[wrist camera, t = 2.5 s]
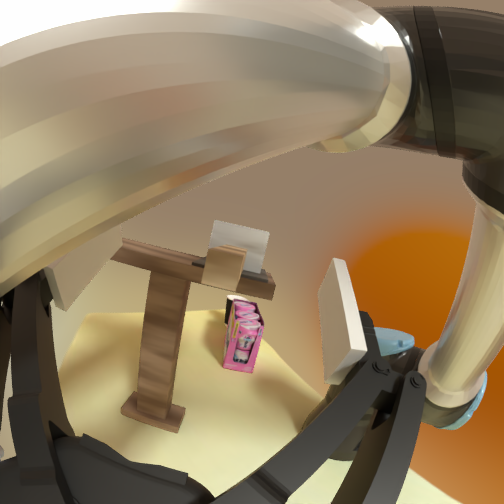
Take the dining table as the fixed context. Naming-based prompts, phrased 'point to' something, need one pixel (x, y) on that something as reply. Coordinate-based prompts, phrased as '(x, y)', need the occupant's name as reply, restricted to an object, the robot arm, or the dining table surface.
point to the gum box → (242, 336)
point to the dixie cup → (229, 305)
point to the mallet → (233, 254)
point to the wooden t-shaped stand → (169, 325)
